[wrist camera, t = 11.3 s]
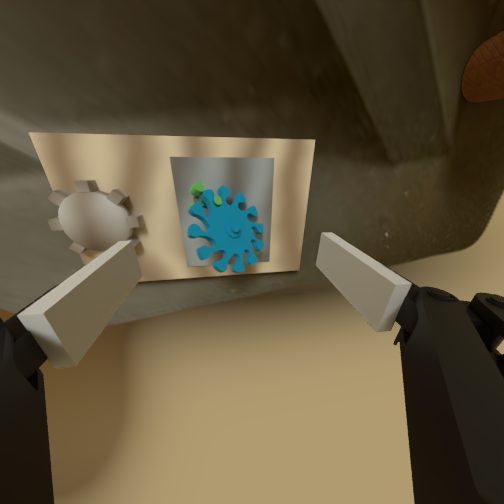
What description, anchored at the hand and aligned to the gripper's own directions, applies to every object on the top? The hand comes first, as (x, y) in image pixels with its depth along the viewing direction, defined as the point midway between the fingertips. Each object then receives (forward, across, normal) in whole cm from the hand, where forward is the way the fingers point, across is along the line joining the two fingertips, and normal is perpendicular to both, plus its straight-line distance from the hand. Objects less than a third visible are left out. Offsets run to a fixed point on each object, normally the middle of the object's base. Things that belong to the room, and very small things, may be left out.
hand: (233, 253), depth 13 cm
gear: (+12, 0, -1) cm, 12 cm away
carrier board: (+14, -4, 0) cm, 14 cm away
